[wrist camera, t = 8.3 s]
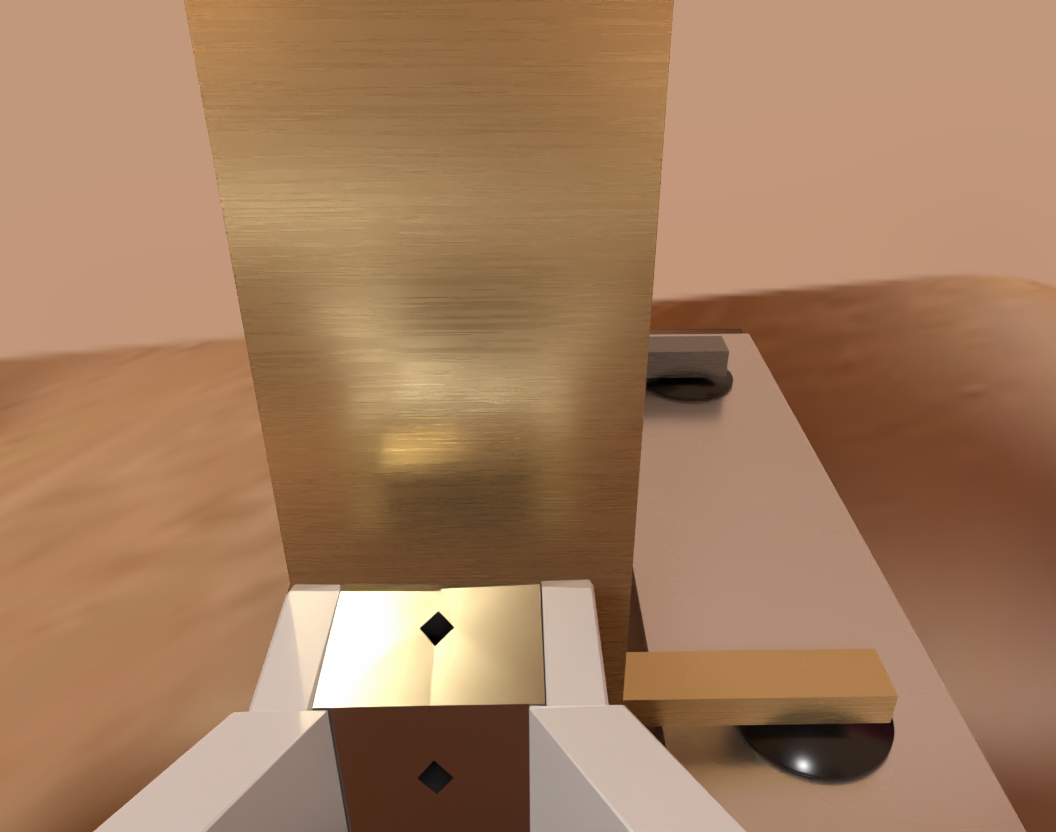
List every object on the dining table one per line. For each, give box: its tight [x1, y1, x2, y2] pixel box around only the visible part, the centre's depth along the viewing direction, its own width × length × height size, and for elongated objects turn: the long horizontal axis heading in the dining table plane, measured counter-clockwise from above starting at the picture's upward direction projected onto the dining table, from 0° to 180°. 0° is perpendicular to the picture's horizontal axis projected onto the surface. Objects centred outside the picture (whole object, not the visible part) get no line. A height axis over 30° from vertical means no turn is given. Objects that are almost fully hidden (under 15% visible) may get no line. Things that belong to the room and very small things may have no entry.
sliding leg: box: [184, 0, 898, 727], centre depth 10 cm, size 8×4×17 cm, turn 91°
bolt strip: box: [632, 334, 1026, 832], centre depth 18 cm, size 9×22×1 cm, turn 1°
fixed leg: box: [646, 336, 729, 378], centre depth 21 cm, size 8×4×18 cm, turn 91°
